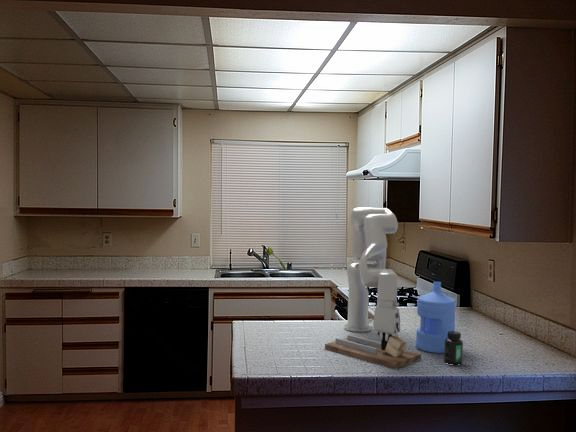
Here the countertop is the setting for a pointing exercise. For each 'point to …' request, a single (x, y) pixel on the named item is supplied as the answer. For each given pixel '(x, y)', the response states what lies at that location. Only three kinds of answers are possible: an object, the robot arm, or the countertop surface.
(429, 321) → the water jug
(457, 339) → the supplement bottle
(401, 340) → the block
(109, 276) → the countertop surface
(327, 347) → the deck
